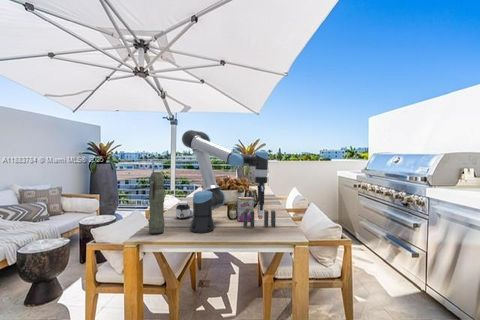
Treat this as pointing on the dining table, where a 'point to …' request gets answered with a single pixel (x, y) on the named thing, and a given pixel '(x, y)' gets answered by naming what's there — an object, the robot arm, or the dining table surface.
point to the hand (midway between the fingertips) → (260, 214)
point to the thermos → (156, 203)
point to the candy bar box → (244, 207)
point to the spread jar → (183, 210)
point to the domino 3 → (258, 213)
